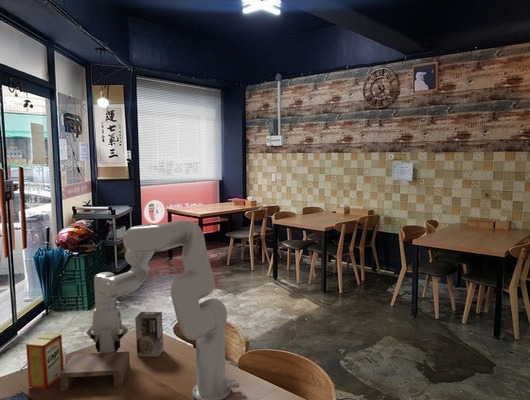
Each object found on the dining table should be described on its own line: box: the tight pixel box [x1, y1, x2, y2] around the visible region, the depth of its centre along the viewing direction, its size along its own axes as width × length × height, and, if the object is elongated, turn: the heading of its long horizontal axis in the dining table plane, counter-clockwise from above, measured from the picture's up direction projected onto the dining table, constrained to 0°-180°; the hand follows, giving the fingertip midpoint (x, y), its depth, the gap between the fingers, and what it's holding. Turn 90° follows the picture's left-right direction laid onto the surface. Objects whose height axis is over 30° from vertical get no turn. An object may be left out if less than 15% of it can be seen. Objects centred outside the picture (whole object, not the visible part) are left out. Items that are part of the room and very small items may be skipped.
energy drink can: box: [99, 328, 118, 353], centre depth 166 cm, size 6×6×15 cm
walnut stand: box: [59, 351, 131, 391], centre depth 154 cm, size 20×14×6 cm
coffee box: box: [134, 311, 164, 358], centre depth 173 cm, size 9×6×16 cm
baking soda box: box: [25, 332, 64, 390], centre depth 152 cm, size 10×6×16 cm
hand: (108, 349), depth 167 cm, fingers open, 6 cm apart
